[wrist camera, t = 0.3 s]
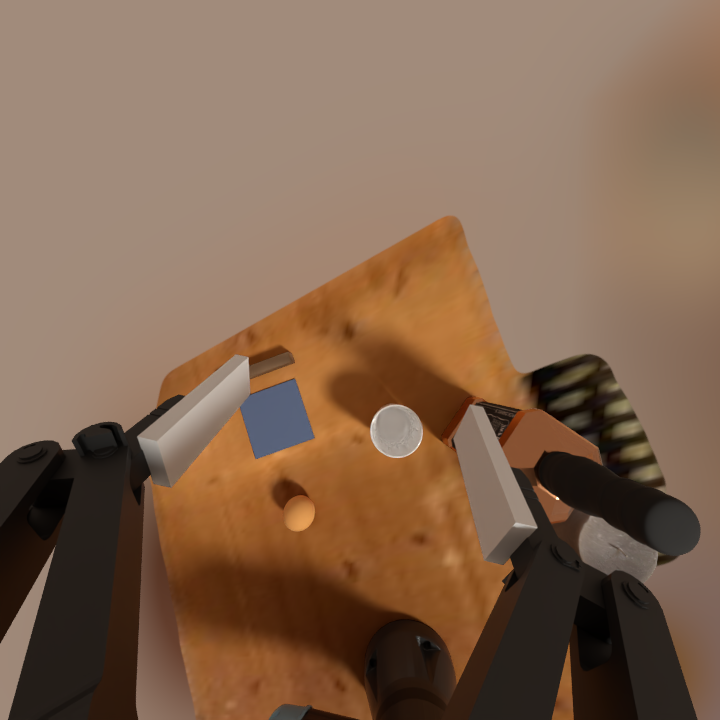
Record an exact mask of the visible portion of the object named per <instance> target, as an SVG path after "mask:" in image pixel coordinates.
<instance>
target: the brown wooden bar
mask: <svg viewBox="0 0 720 720" xmlns="http://www.w3.org/2000/svg"><path fill="white" fill-rule="evenodd" d="M293 363H295V361H294V358H293V355H292V353H290V352H285V353H283V354H280V355H277V356H275V357H272V358H269V359H266V360H264V361H261V362H258V363H256V364H253V365H250V366H249V378H250V379H252V378H255V377H257V376H260V375H263V374H266V373H268V372H271V371H274V370H277V369H279V368H282V367H285V366H287V365H290V364H293Z"/></svg>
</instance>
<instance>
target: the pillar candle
mask: <svg viewBox="0 0 720 720" xmlns="http://www.w3.org/2000/svg"><path fill="white" fill-rule="evenodd" d="M552 526H553V528H554V530H555V532H556V534H557V536H558V538H560V539H562V540H563V541H565V542H566V543H568V544H569V545H570V546H571V547H572V548H573V549H574V550H575V551H576V553H577V554H578V555H579V557H580V558H581V560H582V561H583V562H584V563H586V564H588V565H590V566H592V567H594V568H596V569H598V570H600V571H601V572H603V573H605V574H607V575H609V574H611V573H612V572H613V571H615V570H621V571H624V572H626V573H629V574H631V575H632V576H634V577H635V578H636V579H638V580H639V581H641V582H642V583H644V582H645V581H647V580H648V579H649V578H650V576H651V575H652V573H653V571H654V569H655V567H656V565H657V557H658V552H657V551H655V550H653V549H652V548H650V547H648V546H646V545H644V544H641V543H639V542H637V541H636V540H634V539H633V538H631V537H630V536H629V535H628V534H626V533H625V532H623V531H620V530H618V529H616V528H614V527H612V526H611V525H609V524H608V523H607V522H606V521H605V520H604V519H602V518H598V517H594V516H590V515H587V514H585V513H583V512H581V511H578V510H576V509H574V510H573V511H572V513H571V514H570V516H569V517H568V519H567V520H566V521H565V522H560V523H554V524H552Z"/></svg>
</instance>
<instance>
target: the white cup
mask: <svg viewBox="0 0 720 720" xmlns="http://www.w3.org/2000/svg"><path fill="white" fill-rule="evenodd" d="M370 435H371V439H372V441H373V444H374V445H375V447H376V448H377V449H378V450H379V451H380V452H381V453H383V454H384V455H386V456H389V457H393V458H401V457H405V456H408V455H410V454H411V453H413V452H414V451H415V450H416V449H417V448H418V446H419V444H420V442H421V440H422V435H423V428H422V424H421V421H420V419H419V417H418V416H417V414H416V413H415V412H414V411H413V410H411V409H410V408H408V407H406V406H403V405H400V404H387V405H384V406H382V407H381V408H380V409H379V410H378V411H377V412H376V414H375V415H374V417H373V420H372V422H371V427H370Z"/></svg>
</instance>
